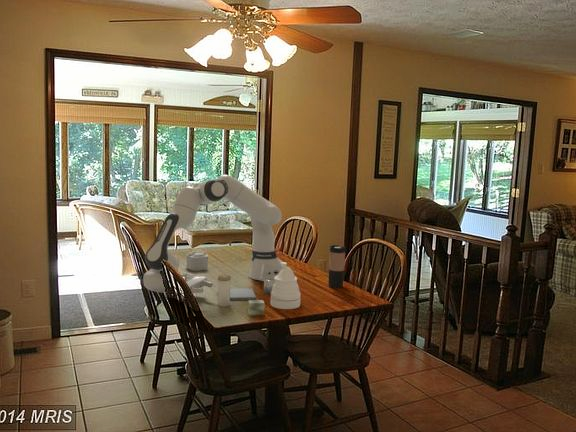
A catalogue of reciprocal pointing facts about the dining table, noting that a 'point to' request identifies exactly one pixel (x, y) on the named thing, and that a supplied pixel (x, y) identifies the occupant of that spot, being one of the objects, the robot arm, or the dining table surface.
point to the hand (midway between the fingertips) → (207, 287)
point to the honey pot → (285, 290)
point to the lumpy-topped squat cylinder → (197, 261)
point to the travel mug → (336, 266)
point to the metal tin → (268, 285)
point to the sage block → (256, 307)
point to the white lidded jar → (224, 290)
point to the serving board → (242, 294)
